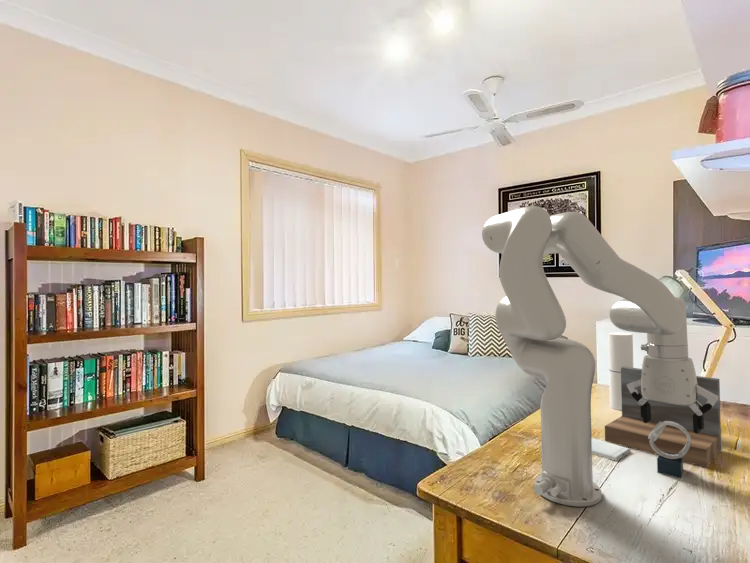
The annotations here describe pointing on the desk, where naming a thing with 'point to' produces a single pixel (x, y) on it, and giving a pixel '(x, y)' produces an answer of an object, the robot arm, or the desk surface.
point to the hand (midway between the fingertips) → (671, 426)
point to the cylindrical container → (618, 364)
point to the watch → (669, 461)
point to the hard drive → (608, 450)
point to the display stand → (672, 439)
